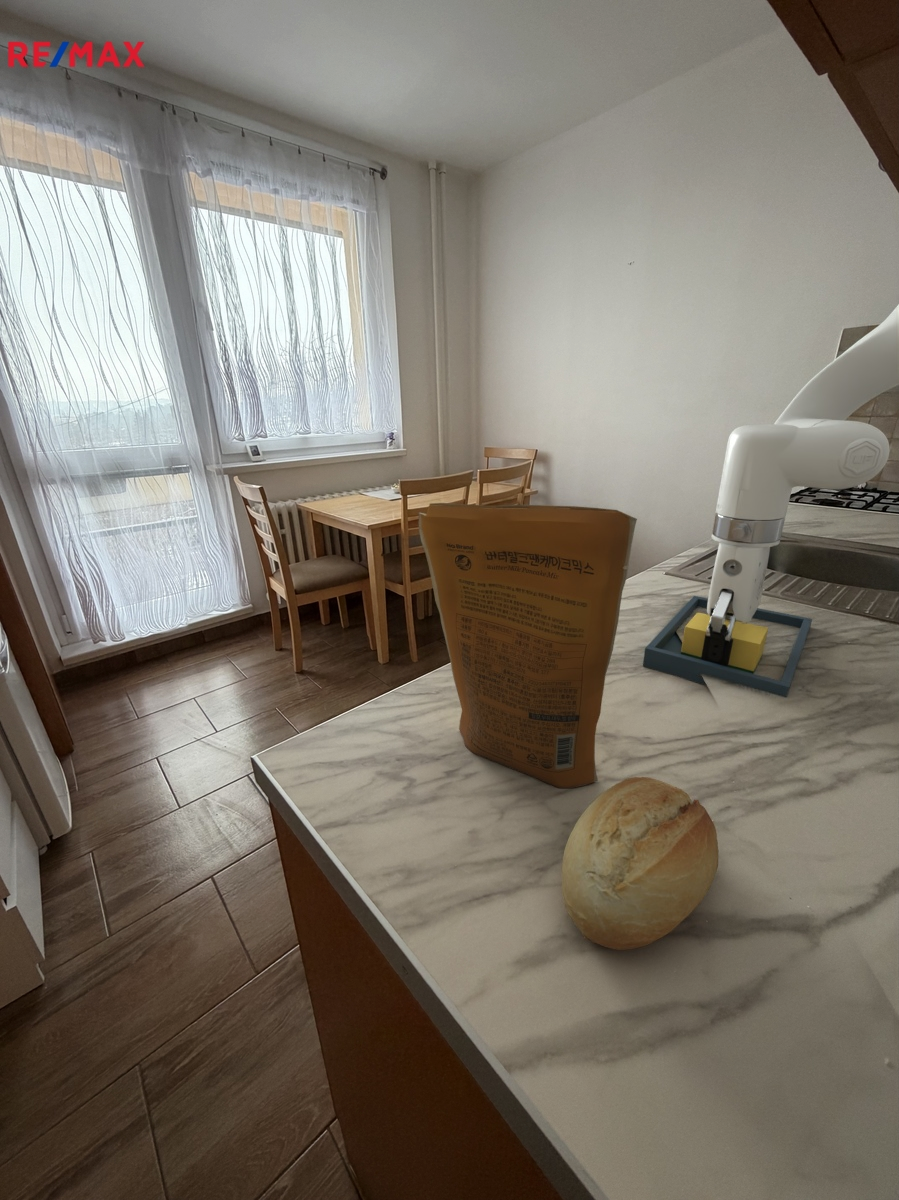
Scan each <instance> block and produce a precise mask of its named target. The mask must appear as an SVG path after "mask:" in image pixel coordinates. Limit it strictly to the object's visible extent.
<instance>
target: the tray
mask: <svg viewBox="0 0 899 1200" xmlns="http://www.w3.org/2000/svg"><path fill="white" fill-rule="evenodd" d="M707 604H708V598H707V597H703V596H698V595H693V596H692V598H691V599H690V600H688V601H687V603H686V604H685V605H684V606H683V607H682V608H681V609H680V610H679V611H678V612H677V613H676V614H675V615H674V616H673V618H672V619H671V620H670V621H669V622H668V623H667V624H666V625H665V626H664V627H663V628H662V629H661V630H660V631H659V633H658V634H657V635H656V636H655V637H653V639H652V640H651V641H650V642H649V643H648V644H647V645H646V647H645V648H644V653H643V662H642V667H644V668H647V669H651V670H654V671H657V672H660V673H664V674H667V675H671V676H673V677H677V678H681V679H683V680H688V681H690V682H695V683H697V684H701V685H704V686H708V685H707V682H706V680H705V679H704V677H703V676H702V675H704V676H705V675H706V676H708V677H713V678H717V679H718V680H719V679H720V680H722V681H726V682H731V683H734V684H738V685H740V686H743V687H747V688H751V689H755V690H758V691H762V692H765V693H769V694H772V695H775V696H779V697H783V698H787V697H788V694H789V691H790V688H791V685H792V683H793V679H794V677H795V673H796V670H797V667H798V665H799V661H800V659H801V655H802V653H803V650H804V646H805V644H806V641H807V637H808V634H809V633H810V629H811V625H812V622H813V618H810V617H806V616H799V615H794V614H790V613H784V612H779V611H774V610H769V609H764V608H759V607H758V608H757V610H756V612H755V613H754V615H753V617H752V618H751V619H757V620H762V621H766V622H770V623H775V624H780V625H784V626H791V627H795V628H799V631H798V634H797V637H796V639H795V642H794V644H793V647H792V650H791V652H790V655H789V658H788V660H787V662H786V666H785V668H784V671H783V673H782V676H781V679H780V680H778V679H774V678H770V677H767V676H764V675H760V674H756V673H754V674H752V673H749V672H745V671H741V670H737V669H734V668H730V667H726V666H723V665H719V664H715V663H711V662H708V661H704V660H700V659H696V658H693V657H689V656H685V655H682V654H681V649H682V643H683V640H682V639H681V637H680V636H679V634H678V632H677V630H678V629H679V628H680V627H681V626H682V625H683V624H684V622H685V621H686V620H687V619H688V618H689V616H691V614H693V612H694V611H695V610H696V608H697V607H698V608H703V609H707Z"/></svg>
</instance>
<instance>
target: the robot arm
mask: <svg viewBox="0 0 899 1200" xmlns="http://www.w3.org/2000/svg"><path fill="white" fill-rule="evenodd" d="M897 386H899V304H897V306H895V308H894V309H893V311H892V312H891V313H890V314H889V315H888V316H887V317H886V318H885V319H884V320H883V321H882V322H881V323H880V324H879V325H878V326H876V327H875V328H873V329H872V330H871V331H870V332H868V333H867V334H865V335H864V336H863V337H862V338H860V339H859V340H858V341H856V342H855V343H854V344H852V345H851V346H850V347H848V349H846V350H845V351H843V353H841V354H840V355H839V356H838V357H836V358H834V360H832V361H831V362H830V363H828V364H827V365H826V366H825V367H824V368H822V369H821V370H819V372H817V374H815V375H814V376H813V377H812V378H811V379H810V380H808V382H807V383H806V384H805V385H803V387H802V388H801V389H800V390H799V391H798V393H797V394H796V395H795V396H794V397H793V399H792V400H791V401H790V402H789V404H788V405H787V406H786V407H785V409H784V410H783V412H782V413H780V415H779V416H778V418H777V419H776V420H775V422H774V423H762V424H761V423H759V424H746V425H741V426H738V427H736V428H735V429H733V430H732V431H731V432H730V435H729V436H728V439H727V444H726V448H725V455H724V461H723V466H722V473H721V477H720V478H721V479H720V484H719V490H718V495H717V502H716V508H715V513H714V519H713V524H712V525H713V526H712V531H711V536H710V538H711V539H712V540H713V541H715V542H716V543H717V542H718V547H717V552H716V557H715V560H714V566H713V571H712V574H711V575H712V576H711V580H710V586H709V591H708V604H707V608H706V614H707V615H710V616H711V619H710V622H709V625H708V628H707V632H706V634H705V639H704V645H703V650H702V656H701V660H704V661H708V662H711V663H715V664H719V665H723V666H726V667H727V666H728V664H729V659H730V654H731V649H732V644H733V639H731V636H732V633H733V630H734V627H735V623H736V621H740V622H742V623H744V624H745V623H749V622H750V621H751V620H752V619H753V618H752V617H753V615H754V613H755V612H756V610H757V608H759V606H760V605H761V602H762V597H763V591H764V585H765V580H766V575H767V569H768V563H769V557H770V552H771V548H772V547H775V546H778V545H779V544H781V543H780V542H781V538H782V534H783V529H784V526H785V520H786V517H787V511H788V507H789V503H790V499H791V494H792V490H793V489H794V488H795V487H802V488H812V489H813V488H814V489H824V490H845V489H846V490H847V489H850V488H855V487H858V486H861V485H864V484H865V483H867V482H869V481H870V480H872V479H873V478H875V477H876V476H877V475H878V474H879V473H880V472H881V471H882V470H883V469H884V467H885V466H886V464H887V462H888V459H889V456H890V450H891V449H890V448H891V447H890V443H889V440H888V438H887V436H886V435H885V433H884V432H883V431H882V430H880V429H879V428H878V427H876V426H874V425H872V424H870V423H867V422H863V421H857V420H847V419H848V418H849V417H850V416H852V414H853V413H855V412H857V410H858V409H860V408H861V407H862V406H863V405H865V404H867V403H868V402H869V401H871V400H872V399H875V398H876V397H878V396H879V395H881V394H882V393H885V392H886V391H888V390H891V389H893V388H895V387H897ZM725 621H727V622H730V623H729V626H728V628H727V626H726V625H725V624H724V622H725Z"/></svg>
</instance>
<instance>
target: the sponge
mask: <svg viewBox="0 0 899 1200" xmlns="http://www.w3.org/2000/svg"><path fill="white" fill-rule="evenodd" d="M710 619H711V616H710V615H709V614H708V613H702V612H696V613H695V615H694V616H693V617H692V618H691V619H690V620H689V621H688V623H687V624H686V625H685V626H684V631H683V637H682V649H681V654H682V655H685V656H689V657H693V658H696V659H700V660H701V656H702V650H703V645H704V639H705V634H706V632H707V628H708V625H709V622H710ZM729 623H730V622H727V621H725V622H724V624H725V625H726V626H727V628H728V626H729ZM768 632H769V627H767V626H762V625H758V624H755V623H749V622H747V623H745V624H744V623H742V622H740V621H736V623H735V627H734V630H733V633H732V636H731V639H733V644H732V649H731V654H730V659H729V664H728V666H727V667H730V668H734V669H737V670H741V671H745V672H749V673H752V674H755V672H756V669H757V668H758V666H759V663H760V661H761V660H762V657H763V654H764V650H765V645H766V640H767V637H768Z"/></svg>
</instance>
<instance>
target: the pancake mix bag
mask: <svg viewBox="0 0 899 1200" xmlns="http://www.w3.org/2000/svg"><path fill="white" fill-rule="evenodd" d="M637 521H638V518H636V517H633V516H631V515H629V514H627V513H624V512H622V511H620V510H618V509H612V508H611V509H610V508H600V507H591V506H589V507H588V506H576V505H575V506H574V505H546V504H510V505H509V504H507V505H482V504H463V503H459V504H458V503H450V502H449V503H448V502H433V503H432V502H431V503H429V504H428V508H427V510H426V513H424V512H418V531H419V538H420V542H421V545H422V547H423V550H424V553H425V557H426V561H427V566H428V569H429V575H430V579H431V584H432V589H433V595H434V601H435V604H436V607H437V610H438V613H439V617H440V623H441V627H442V632H443V636H444V639H445V645H446V648H447V652H448V656H449V661H450V667H451V672H452V676H453V678H452V679H453V682H454V687H455V688H456V693H457V696H458V700H459V704H460V707H461V713H460V719H459V725H458V730H459V732H460V735H461V737H462V740H463V743H464V746H465V747H466V748H467V749H468V750H469V751H470V752H471V753H472V754H473V755H476V756H479V757H481V758H484V759H487V760H489V761H491V762H494V763H496V764H499V765H501V766H504V767H506V768H509V769H512V770H514V771H517V772H520V773H522V774H525V775H527V776H530V777H533V778H535V779H537V780H539V781H542V782H543V783H546V784H548V785H551V786H553V787H555V788H558V789H574V788H579V787H582V786H587V785H590V784H592V783H596V782H598V780H599V779H598V775H597V767H596V758H595V757H596V732H597V727H598V726H597V725H598V723H599V719H600V716H601V712H602V704H603V703H602V701H603V696H604V689H605V683H606V682H605V681H606V675H607V671H608V669H609V665H610V663H611V662H610V661H611V658H612V654H613V650H614V646H615V640H616V636H617V635H616V634H617V630H618V626H619V620H620V619H619V618H620V613H621V612H620V611H621V603H622V597H623V591H624V588H625V584H626V581H627V579H628V573H629V565H630V558H631V552H632V545H633V540H634V534H635V528H636V524H637Z"/></svg>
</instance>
